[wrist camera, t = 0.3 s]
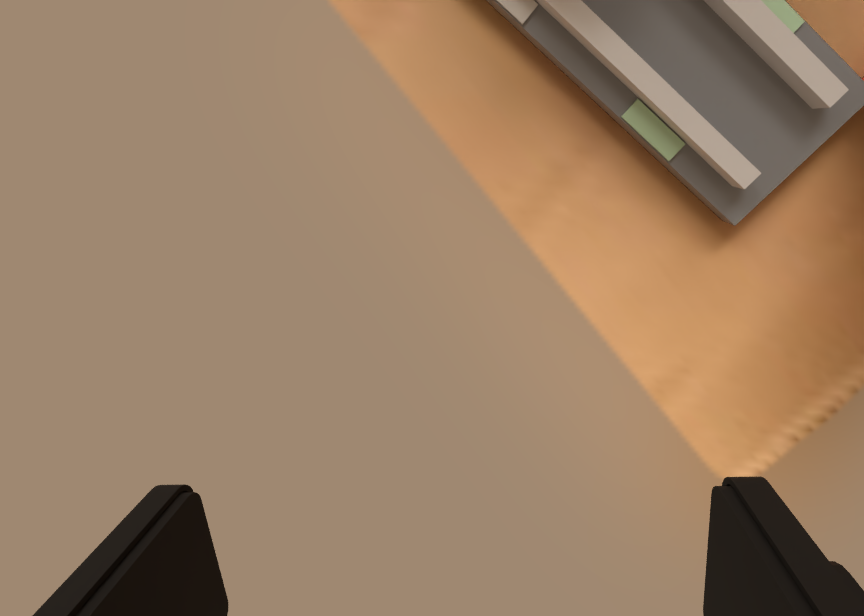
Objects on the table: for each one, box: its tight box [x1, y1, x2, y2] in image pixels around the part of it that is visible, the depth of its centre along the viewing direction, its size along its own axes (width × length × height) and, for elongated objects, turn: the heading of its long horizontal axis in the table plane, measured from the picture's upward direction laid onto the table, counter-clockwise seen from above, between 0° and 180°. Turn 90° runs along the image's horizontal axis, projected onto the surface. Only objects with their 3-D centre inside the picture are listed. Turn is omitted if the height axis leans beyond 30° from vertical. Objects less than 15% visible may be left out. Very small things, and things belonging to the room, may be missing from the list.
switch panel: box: [486, 0, 864, 226], centre depth 31 cm, size 10×24×4 cm, turn 50°
